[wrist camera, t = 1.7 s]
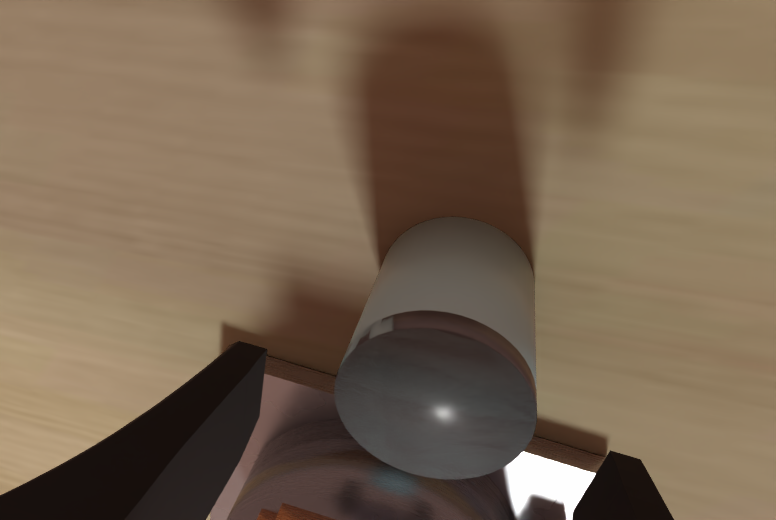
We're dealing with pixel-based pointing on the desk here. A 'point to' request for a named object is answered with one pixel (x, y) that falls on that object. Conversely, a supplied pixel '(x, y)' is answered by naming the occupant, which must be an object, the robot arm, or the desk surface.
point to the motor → (378, 469)
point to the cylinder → (444, 353)
